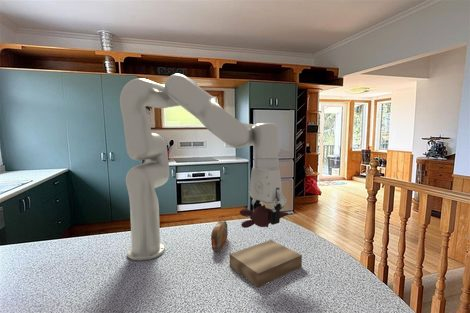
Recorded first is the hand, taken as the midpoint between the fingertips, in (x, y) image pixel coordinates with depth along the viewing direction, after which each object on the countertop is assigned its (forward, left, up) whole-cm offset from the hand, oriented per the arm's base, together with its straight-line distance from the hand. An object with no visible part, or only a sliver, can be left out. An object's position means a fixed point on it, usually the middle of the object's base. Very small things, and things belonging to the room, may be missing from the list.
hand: (265, 219), depth 79 cm
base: (0, 0, -15) cm, 15 cm away
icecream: (0, -1, -2) cm, 2 cm away
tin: (-21, -4, -16) cm, 27 cm away
